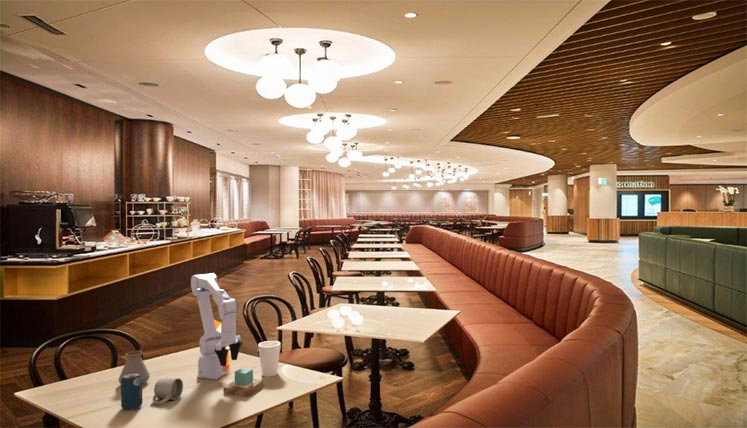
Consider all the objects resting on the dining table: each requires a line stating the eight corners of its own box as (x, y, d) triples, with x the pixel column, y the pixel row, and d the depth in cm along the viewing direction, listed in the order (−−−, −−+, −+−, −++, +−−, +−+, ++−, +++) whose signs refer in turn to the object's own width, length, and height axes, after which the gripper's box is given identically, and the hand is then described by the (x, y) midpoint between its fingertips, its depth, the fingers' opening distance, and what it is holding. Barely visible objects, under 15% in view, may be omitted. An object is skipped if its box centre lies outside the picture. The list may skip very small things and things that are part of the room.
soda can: (145, 407, 176) (145, 374, 176) (125, 413, 171) (125, 379, 171) (137, 401, 181) (137, 370, 181) (118, 407, 176) (117, 375, 176)
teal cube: (234, 384, 191) (234, 372, 191) (242, 380, 196) (242, 367, 195) (245, 386, 189) (245, 373, 189) (253, 381, 194) (252, 369, 194)
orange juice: (222, 360, 228) (221, 317, 228) (229, 365, 222) (229, 321, 221) (205, 363, 223) (204, 320, 223) (212, 368, 217) (212, 324, 216)
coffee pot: (143, 389, 193) (142, 351, 193) (113, 390, 192) (112, 352, 192) (162, 370, 215) (161, 336, 214) (135, 371, 214) (134, 337, 213)
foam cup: (283, 370, 214) (283, 341, 214) (277, 377, 205) (276, 347, 205) (262, 369, 215) (262, 340, 215) (255, 377, 206) (255, 346, 206)
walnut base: (223, 395, 189) (223, 386, 189) (239, 384, 199) (239, 377, 199) (248, 398, 185) (248, 389, 185) (263, 387, 196) (263, 379, 196)
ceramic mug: (165, 393, 189) (164, 373, 189) (183, 394, 188) (183, 375, 187) (146, 405, 179) (146, 384, 179) (166, 406, 177) (166, 386, 177)
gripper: (226, 334, 188) (227, 369, 188) (246, 325, 202) (247, 358, 202) (210, 333, 190) (211, 367, 190) (232, 324, 204) (232, 356, 204)
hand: (228, 362), depth 196 cm, fingers open, 7 cm apart
